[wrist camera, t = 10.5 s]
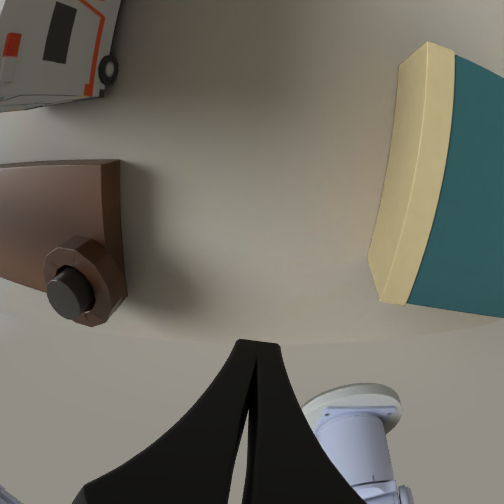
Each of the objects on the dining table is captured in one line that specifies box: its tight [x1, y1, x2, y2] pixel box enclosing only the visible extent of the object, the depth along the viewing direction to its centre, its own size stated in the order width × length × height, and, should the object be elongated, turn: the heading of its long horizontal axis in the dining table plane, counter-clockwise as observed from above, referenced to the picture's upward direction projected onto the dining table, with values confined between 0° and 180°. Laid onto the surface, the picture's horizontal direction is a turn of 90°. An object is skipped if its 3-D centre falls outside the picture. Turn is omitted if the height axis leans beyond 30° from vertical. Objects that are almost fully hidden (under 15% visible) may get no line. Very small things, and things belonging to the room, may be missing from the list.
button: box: [46, 267, 94, 320], centre depth 15 cm, size 3×3×2 cm
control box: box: [0, 159, 128, 327], centre depth 17 cm, size 10×15×4 cm
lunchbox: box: [367, 41, 504, 318], centre depth 12 cm, size 12×5×9 cm
